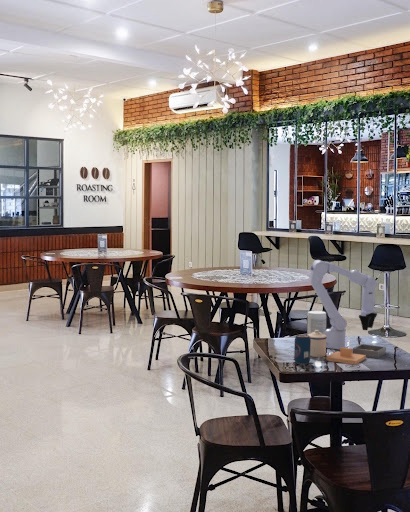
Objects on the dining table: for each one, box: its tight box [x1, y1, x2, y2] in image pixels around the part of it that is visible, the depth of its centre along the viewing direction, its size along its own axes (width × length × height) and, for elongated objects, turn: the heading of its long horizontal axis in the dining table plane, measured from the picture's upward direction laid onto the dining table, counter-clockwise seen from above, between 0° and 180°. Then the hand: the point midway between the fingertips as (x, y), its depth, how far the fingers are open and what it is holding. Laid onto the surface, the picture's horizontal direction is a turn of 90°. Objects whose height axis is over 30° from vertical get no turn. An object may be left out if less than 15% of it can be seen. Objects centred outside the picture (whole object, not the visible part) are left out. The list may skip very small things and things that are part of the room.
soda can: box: [293, 334, 311, 365], centre depth 280 cm, size 7×7×12 cm
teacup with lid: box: [308, 330, 327, 358], centre depth 295 cm, size 12×9×12 cm
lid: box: [325, 347, 366, 366], centre depth 287 cm, size 14×14×5 cm
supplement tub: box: [306, 310, 327, 335], centre depth 327 cm, size 10×10×15 cm
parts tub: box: [352, 343, 387, 359], centre depth 299 cm, size 12×12×3 cm
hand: (367, 328), depth 311 cm, fingers open, 7 cm apart
